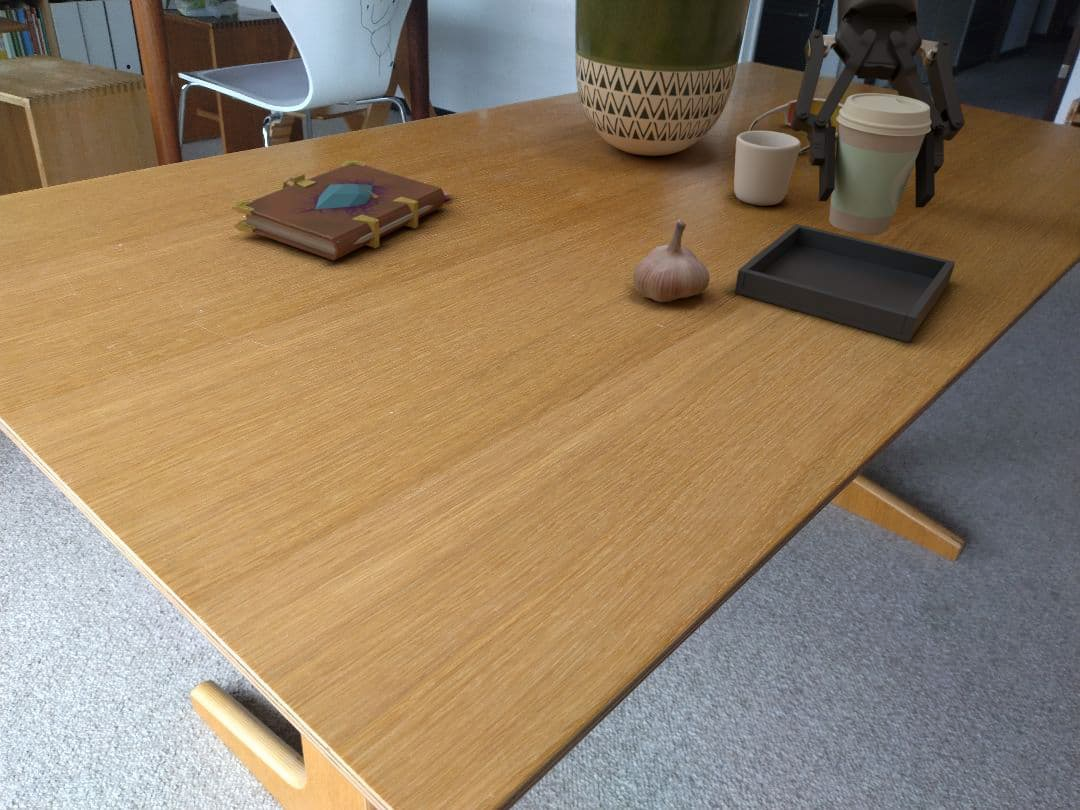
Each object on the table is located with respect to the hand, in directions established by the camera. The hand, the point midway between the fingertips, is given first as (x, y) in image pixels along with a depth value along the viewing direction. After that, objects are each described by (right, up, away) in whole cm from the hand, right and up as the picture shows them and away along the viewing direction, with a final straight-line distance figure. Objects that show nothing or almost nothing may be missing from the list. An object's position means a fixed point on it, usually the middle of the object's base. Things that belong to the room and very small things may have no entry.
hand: (875, 198), depth 84 cm
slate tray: (0, -7, +9) cm, 11 cm away
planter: (-16, +19, +49) cm, 55 cm away
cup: (-3, +8, +32) cm, 34 cm away
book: (-54, +3, +21) cm, 58 cm away
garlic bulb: (-19, -9, +6) cm, 22 cm away
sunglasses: (+10, +23, +57) cm, 62 cm away
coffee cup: (0, -2, +5) cm, 5 cm away
